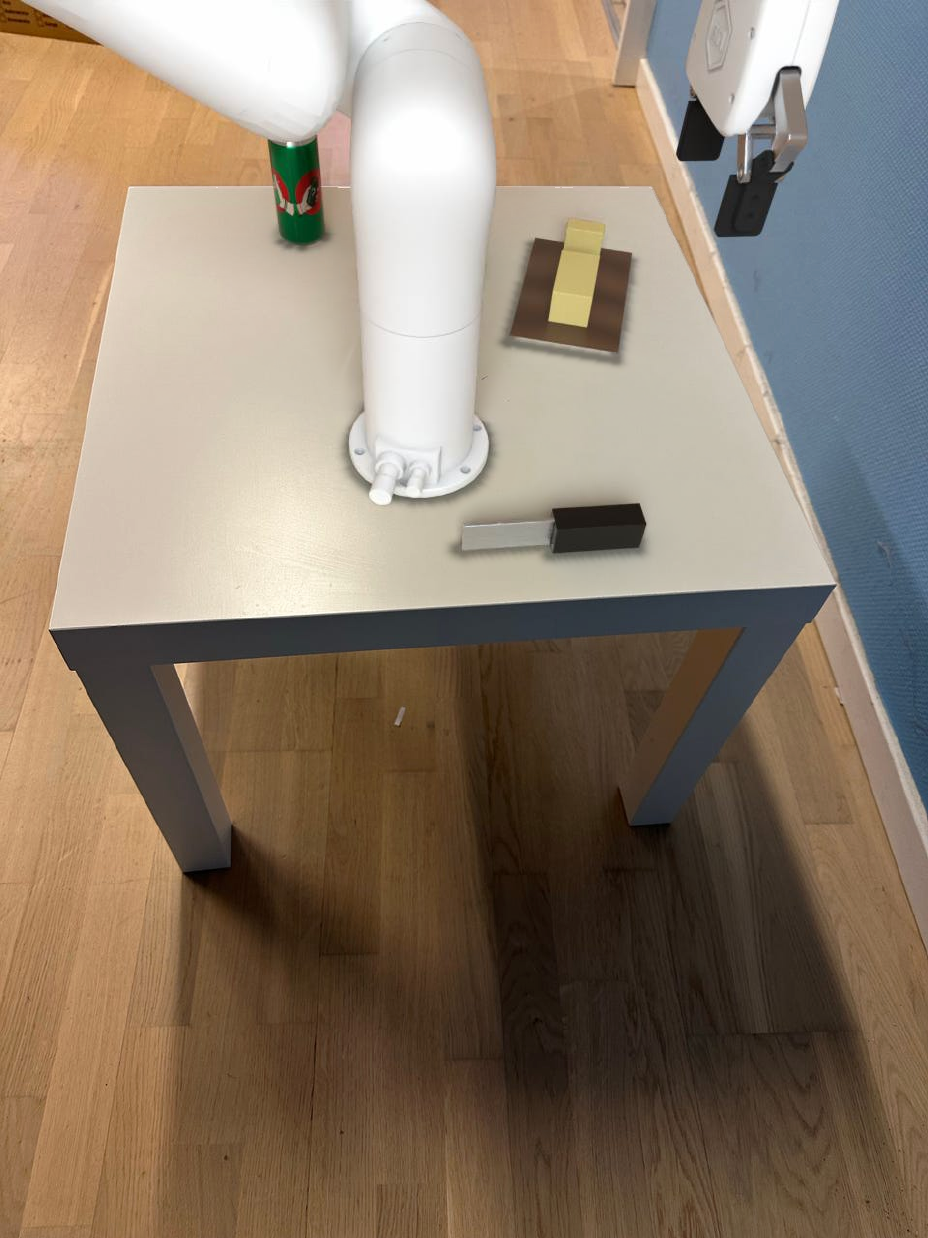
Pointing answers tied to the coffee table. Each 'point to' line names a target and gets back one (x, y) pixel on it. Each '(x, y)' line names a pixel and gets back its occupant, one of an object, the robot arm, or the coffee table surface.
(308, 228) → the soda can
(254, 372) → the coffee table surface
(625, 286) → the board
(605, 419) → the coffee table surface
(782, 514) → the coffee table surface
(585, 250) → the butter pat
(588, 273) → the butter block
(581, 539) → the knife
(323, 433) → the coffee table surface
